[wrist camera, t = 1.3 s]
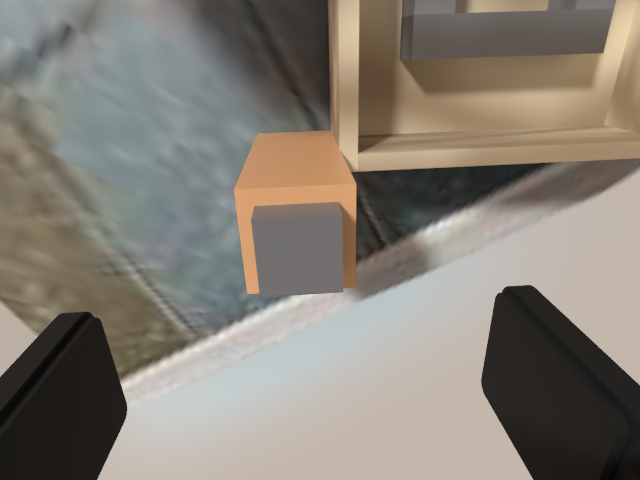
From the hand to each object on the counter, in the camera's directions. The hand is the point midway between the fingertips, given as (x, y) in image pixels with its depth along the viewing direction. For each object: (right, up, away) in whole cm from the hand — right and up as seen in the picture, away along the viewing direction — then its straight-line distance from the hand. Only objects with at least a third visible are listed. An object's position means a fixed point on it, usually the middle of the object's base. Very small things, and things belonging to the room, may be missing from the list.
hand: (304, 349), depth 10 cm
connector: (-1, +7, +13) cm, 15 cm away
